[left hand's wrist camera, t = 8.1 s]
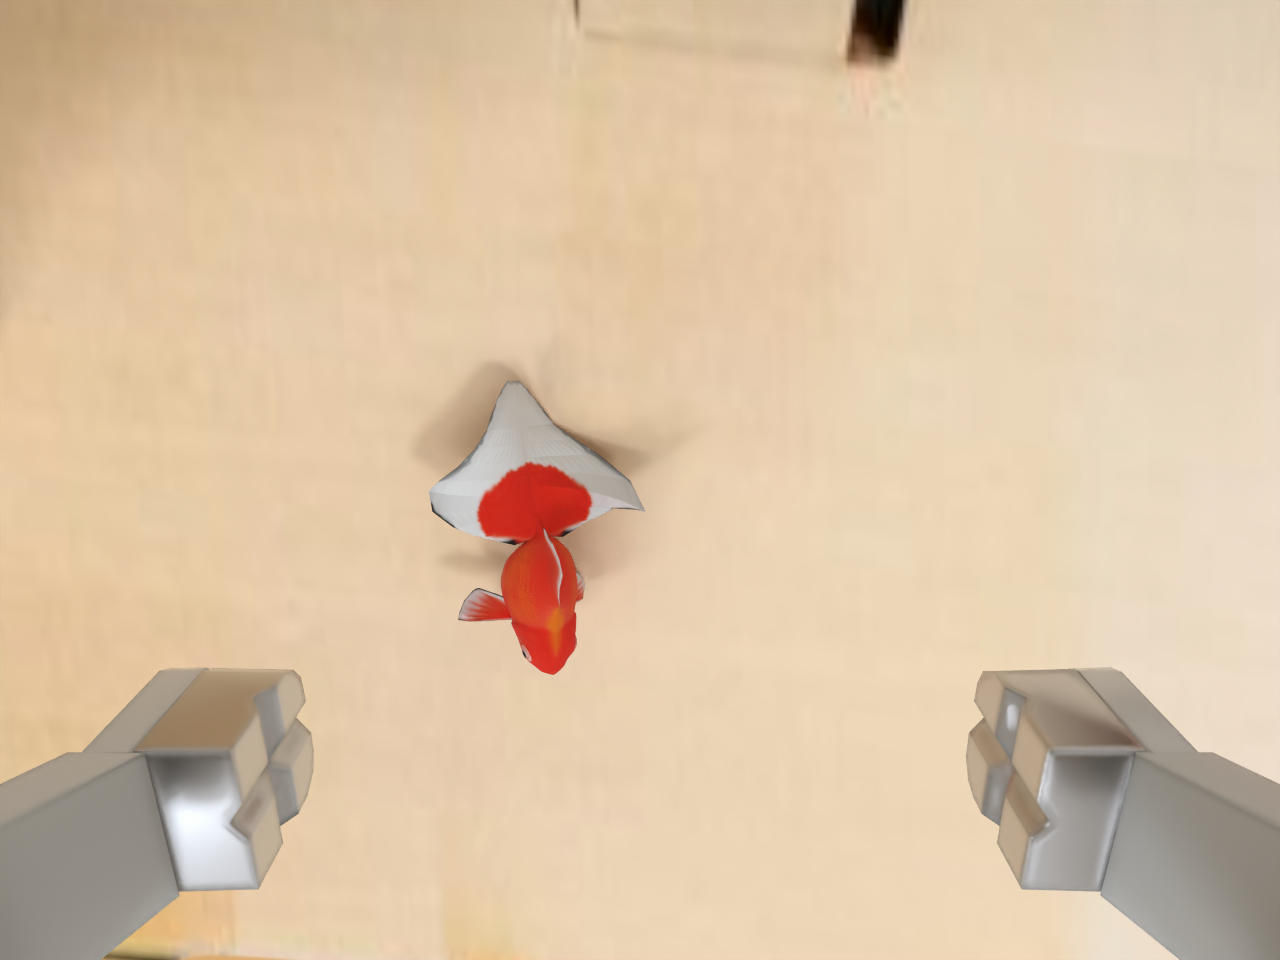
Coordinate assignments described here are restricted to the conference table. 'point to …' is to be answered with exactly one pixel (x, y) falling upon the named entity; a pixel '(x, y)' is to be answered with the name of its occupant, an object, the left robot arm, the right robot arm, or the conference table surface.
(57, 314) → the conference table surface
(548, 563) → the fish
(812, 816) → the conference table surface
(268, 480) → the conference table surface
